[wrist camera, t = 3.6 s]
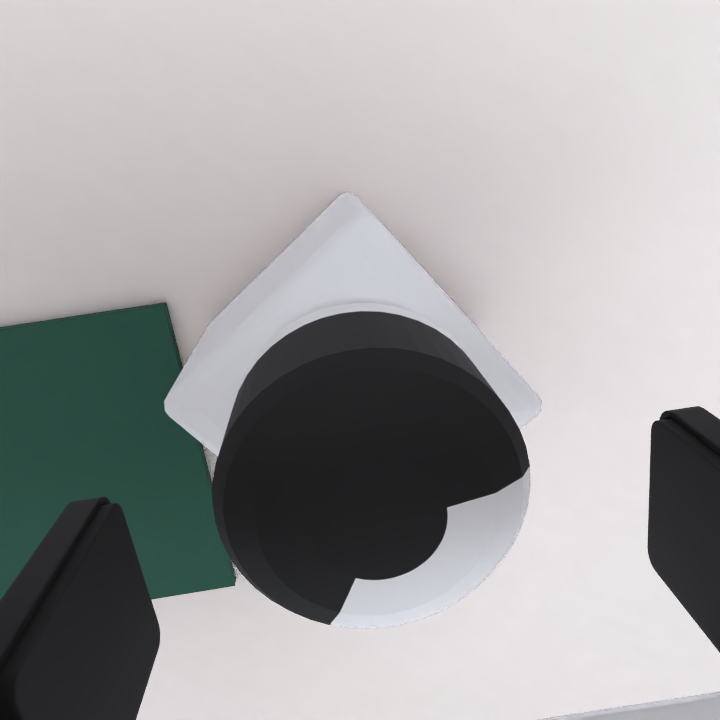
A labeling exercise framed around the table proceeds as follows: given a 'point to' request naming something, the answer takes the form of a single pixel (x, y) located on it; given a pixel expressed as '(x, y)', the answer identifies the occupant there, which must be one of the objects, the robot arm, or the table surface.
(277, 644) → the table surface
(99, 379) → the cutting mat
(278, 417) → the medicine bottle
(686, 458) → the robot arm
